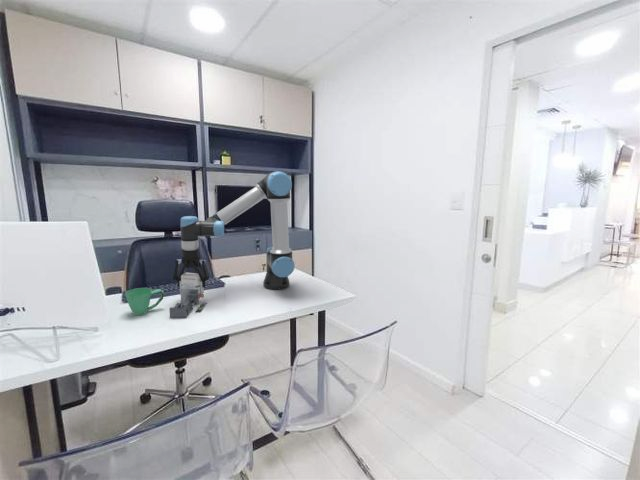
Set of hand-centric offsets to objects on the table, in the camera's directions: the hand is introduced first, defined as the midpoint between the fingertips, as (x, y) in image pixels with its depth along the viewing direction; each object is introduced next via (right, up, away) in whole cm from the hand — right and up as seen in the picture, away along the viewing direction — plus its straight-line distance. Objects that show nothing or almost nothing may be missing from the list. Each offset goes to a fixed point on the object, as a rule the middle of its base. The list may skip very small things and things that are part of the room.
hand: (192, 293), depth 146 cm
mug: (-15, -6, -13) cm, 21 cm away
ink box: (0, -2, 0) cm, 2 cm away
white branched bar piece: (+2, -5, -6) cm, 8 cm away
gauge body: (+3, -6, -10) cm, 12 cm away
